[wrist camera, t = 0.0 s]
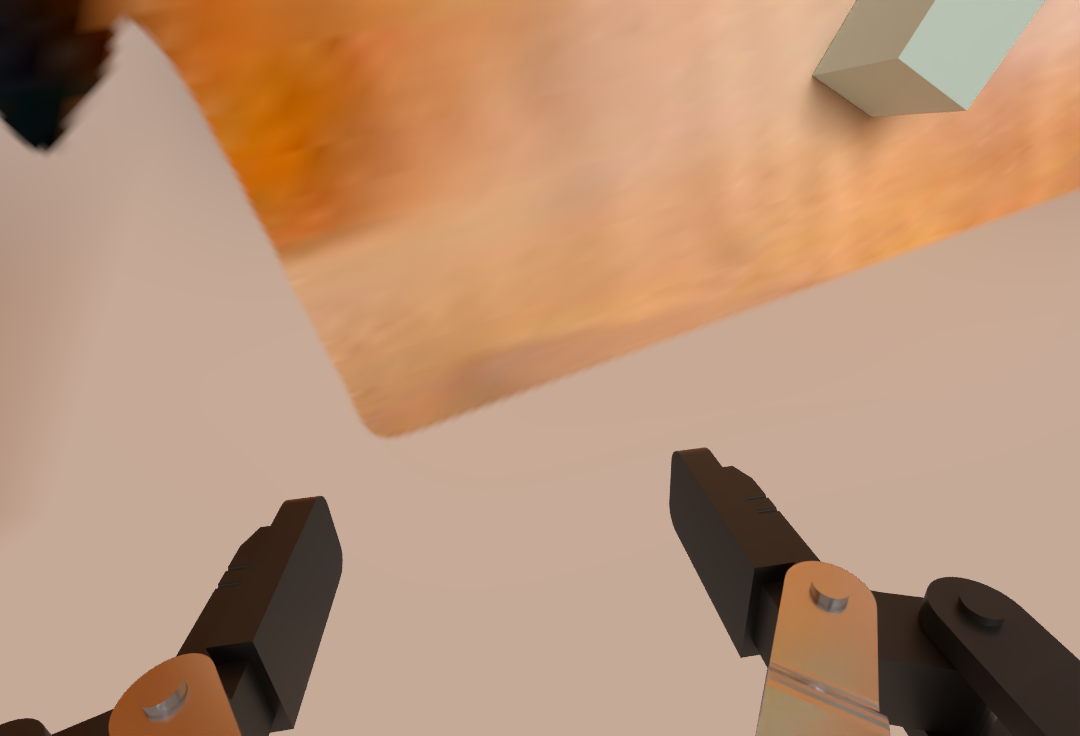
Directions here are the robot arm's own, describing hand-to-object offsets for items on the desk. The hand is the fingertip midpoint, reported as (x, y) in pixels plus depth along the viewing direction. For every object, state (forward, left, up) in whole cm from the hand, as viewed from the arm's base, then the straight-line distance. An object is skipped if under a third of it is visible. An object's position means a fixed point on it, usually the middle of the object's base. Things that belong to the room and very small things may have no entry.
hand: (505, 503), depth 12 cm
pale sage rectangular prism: (-14, +30, -29) cm, 44 cm away
